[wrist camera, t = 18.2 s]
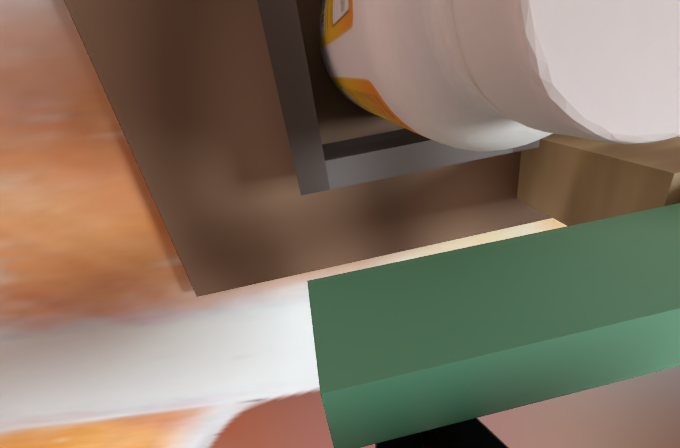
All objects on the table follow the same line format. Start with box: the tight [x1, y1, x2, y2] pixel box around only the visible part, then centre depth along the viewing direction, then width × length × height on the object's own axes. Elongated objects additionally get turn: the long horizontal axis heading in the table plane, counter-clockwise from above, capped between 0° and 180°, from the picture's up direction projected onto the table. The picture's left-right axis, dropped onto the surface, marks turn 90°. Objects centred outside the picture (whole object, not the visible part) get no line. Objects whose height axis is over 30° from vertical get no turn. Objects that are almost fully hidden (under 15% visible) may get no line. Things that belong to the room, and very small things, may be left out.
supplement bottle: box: [319, 0, 680, 151], centre depth 7 cm, size 5×5×10 cm
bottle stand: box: [64, 0, 680, 297], centre depth 9 cm, size 20×18×7 cm
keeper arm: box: [308, 203, 680, 448], centre depth 7 cm, size 13×3×3 cm, turn 98°
